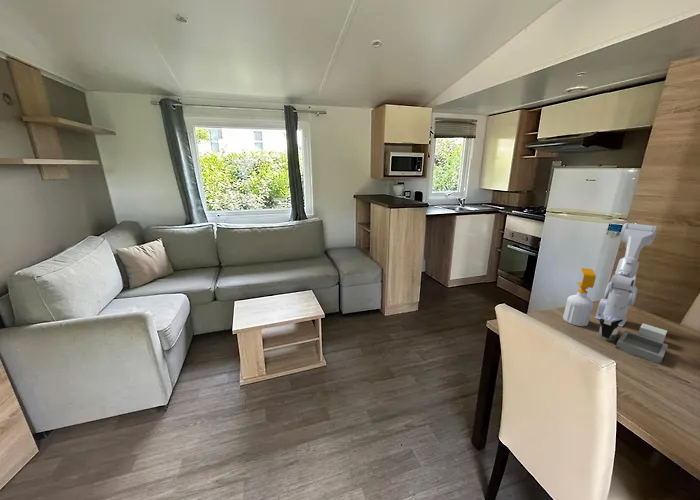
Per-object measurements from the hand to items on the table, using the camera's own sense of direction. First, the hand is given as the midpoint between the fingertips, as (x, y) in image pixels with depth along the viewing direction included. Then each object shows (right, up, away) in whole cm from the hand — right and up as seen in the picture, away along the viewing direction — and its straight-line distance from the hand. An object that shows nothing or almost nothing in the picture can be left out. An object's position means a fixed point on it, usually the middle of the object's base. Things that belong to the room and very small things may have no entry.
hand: (607, 334), depth 116 cm
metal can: (0, -1, 0) cm, 2 cm away
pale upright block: (+16, -2, -1) cm, 16 cm away
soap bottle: (-3, +2, +13) cm, 13 cm away
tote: (+6, -4, -7) cm, 10 cm away
